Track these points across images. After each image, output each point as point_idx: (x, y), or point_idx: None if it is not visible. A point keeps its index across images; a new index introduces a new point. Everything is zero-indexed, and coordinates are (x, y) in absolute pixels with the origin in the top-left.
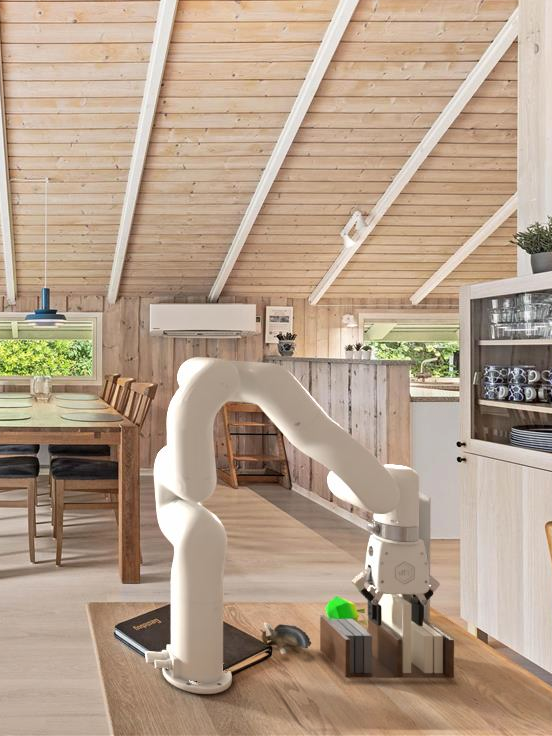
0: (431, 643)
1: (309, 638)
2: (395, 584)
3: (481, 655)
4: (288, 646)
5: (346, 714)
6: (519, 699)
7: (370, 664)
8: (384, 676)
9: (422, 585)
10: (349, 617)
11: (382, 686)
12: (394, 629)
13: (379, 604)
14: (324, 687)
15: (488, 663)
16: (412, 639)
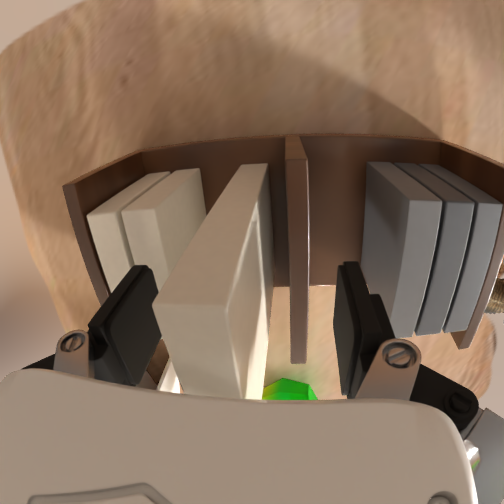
0: (140, 199)
1: None
2: (270, 498)
3: (52, 279)
4: (500, 279)
5: (489, 21)
6: (42, 109)
7: (379, 166)
8: (338, 141)
9: (9, 416)
10: (284, 396)
11: (354, 116)
12: (262, 265)
13: (351, 353)
14: (495, 126)
15: (47, 250)
16: None
